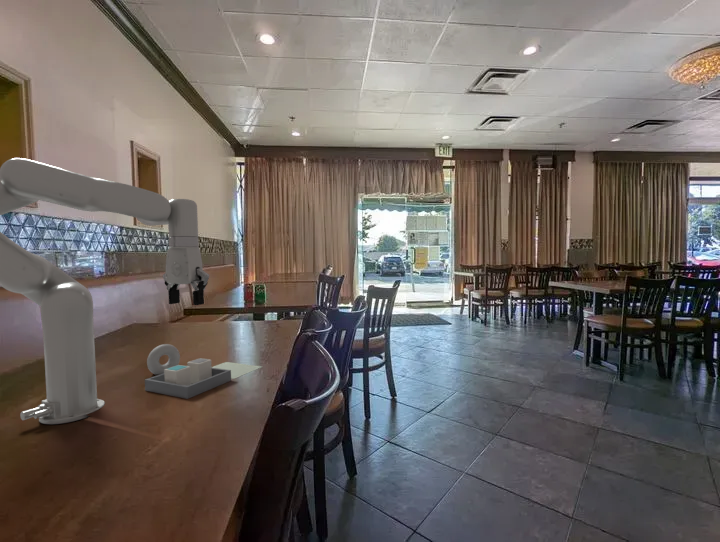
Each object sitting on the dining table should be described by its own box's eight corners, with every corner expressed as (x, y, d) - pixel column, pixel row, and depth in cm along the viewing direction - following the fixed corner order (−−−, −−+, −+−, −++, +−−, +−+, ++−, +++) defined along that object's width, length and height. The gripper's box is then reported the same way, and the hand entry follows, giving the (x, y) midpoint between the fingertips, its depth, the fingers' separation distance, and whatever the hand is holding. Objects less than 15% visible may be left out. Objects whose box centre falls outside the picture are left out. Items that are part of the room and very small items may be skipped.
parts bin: (187, 402, 94) (187, 387, 94) (145, 393, 101) (144, 379, 101) (231, 383, 108) (230, 370, 108) (191, 377, 115) (190, 364, 115)
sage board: (234, 382, 109) (233, 378, 109) (195, 375, 116) (195, 372, 116) (262, 369, 121) (262, 366, 121) (226, 364, 128) (226, 361, 128)
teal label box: (176, 393, 98) (175, 370, 98) (165, 391, 100) (164, 369, 100) (191, 387, 102) (190, 366, 102) (179, 385, 104) (178, 364, 104)
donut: (150, 380, 112) (149, 348, 112) (145, 378, 115) (144, 346, 114) (182, 371, 120) (181, 341, 120) (177, 370, 123) (176, 340, 122)
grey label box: (199, 384, 105) (198, 363, 104) (188, 382, 106) (187, 361, 106) (211, 379, 109) (211, 359, 109) (200, 377, 111) (200, 357, 110)
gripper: (151, 244, 103) (153, 304, 104) (195, 242, 96) (197, 306, 96) (174, 245, 110) (176, 301, 110) (217, 243, 103) (219, 303, 103)
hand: (186, 304), depth 103 cm, fingers open, 9 cm apart
